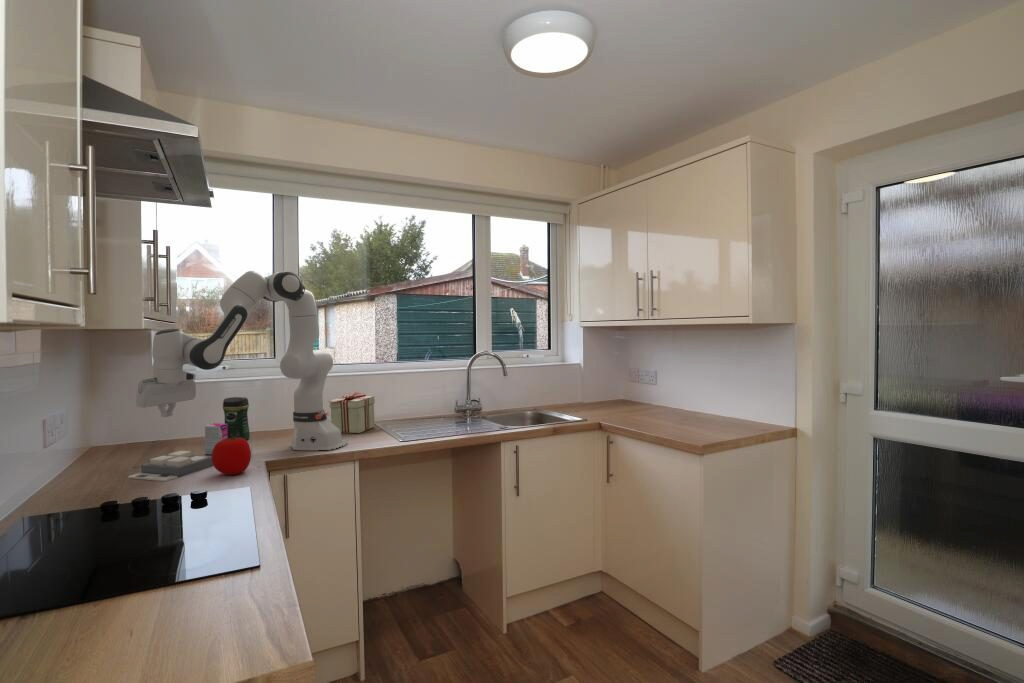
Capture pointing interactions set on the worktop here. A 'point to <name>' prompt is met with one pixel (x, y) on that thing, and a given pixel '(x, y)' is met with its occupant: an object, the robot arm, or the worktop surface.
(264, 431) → the worktop surface
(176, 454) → the button
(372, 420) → the gift box
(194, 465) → the button board
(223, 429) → the supplement box
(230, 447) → the tomato
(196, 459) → the button
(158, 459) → the button
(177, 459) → the button
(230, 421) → the coffee jar
